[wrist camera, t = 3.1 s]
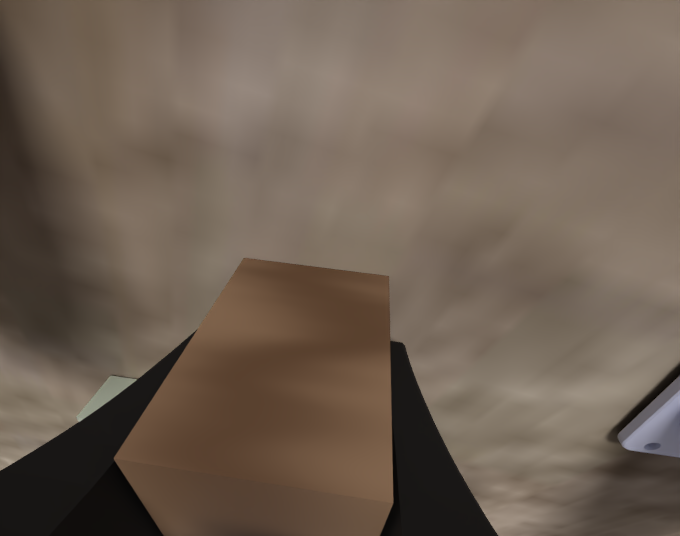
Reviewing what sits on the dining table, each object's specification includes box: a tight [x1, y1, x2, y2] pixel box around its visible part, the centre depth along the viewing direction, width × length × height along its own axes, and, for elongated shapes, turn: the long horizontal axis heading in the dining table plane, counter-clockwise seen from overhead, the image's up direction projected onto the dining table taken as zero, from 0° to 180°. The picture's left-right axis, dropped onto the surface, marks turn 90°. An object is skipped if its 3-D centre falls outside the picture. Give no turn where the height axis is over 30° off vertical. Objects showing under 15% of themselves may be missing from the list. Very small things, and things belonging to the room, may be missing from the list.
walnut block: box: [114, 258, 393, 536], centre depth 9 cm, size 4×4×6 cm
